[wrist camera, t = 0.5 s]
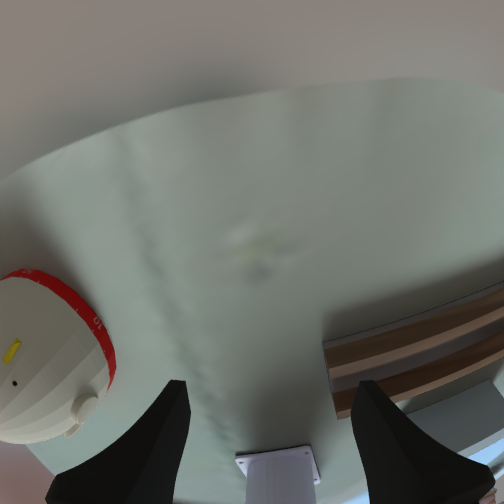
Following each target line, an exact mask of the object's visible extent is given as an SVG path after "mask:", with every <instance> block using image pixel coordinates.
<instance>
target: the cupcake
mask: <svg viewBox="0 0 504 504" xmlns="http://www.w3.org/2000/svg"><path fill="white" fill-rule="evenodd" d="M496 491H497V489H496V488H494V487H493V488H492V489H491V490H490V491H489V492H488V493H487V494H486V495H485V496H484V497H483V498H482V499H480V500H479V503H480V504H496V501H495V495H494V494H496Z"/></svg>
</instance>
